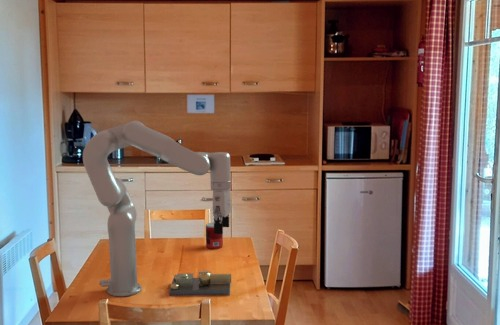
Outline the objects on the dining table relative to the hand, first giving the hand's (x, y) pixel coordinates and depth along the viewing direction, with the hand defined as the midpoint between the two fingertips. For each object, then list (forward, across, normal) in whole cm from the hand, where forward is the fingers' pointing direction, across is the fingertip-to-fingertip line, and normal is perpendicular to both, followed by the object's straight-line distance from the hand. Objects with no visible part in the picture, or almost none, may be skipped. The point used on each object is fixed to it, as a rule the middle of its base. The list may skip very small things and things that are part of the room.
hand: (221, 230), depth 213 cm
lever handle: (+20, -3, +2) cm, 20 cm away
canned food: (+22, +49, +17) cm, 56 cm away
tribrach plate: (+22, -5, +8) cm, 24 cm away
